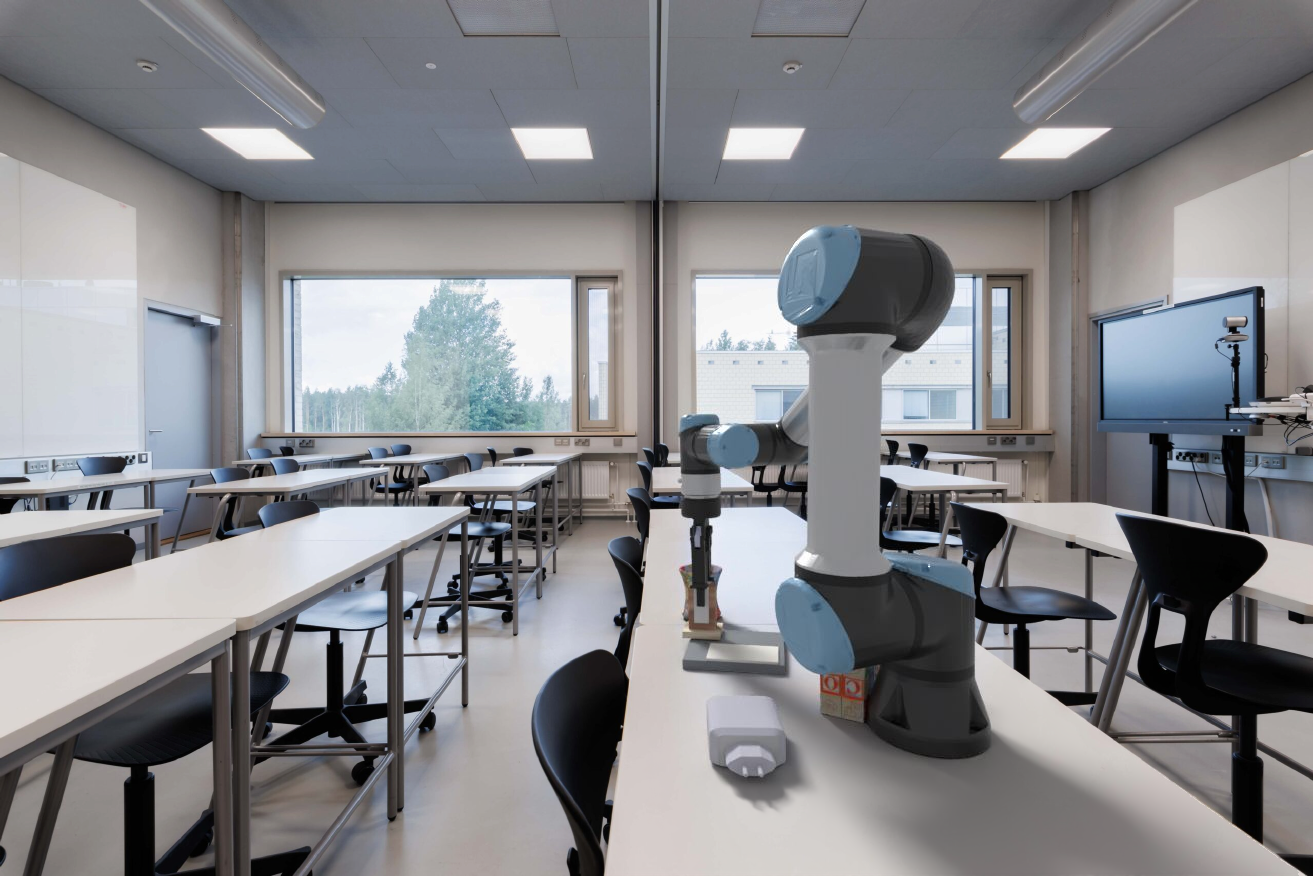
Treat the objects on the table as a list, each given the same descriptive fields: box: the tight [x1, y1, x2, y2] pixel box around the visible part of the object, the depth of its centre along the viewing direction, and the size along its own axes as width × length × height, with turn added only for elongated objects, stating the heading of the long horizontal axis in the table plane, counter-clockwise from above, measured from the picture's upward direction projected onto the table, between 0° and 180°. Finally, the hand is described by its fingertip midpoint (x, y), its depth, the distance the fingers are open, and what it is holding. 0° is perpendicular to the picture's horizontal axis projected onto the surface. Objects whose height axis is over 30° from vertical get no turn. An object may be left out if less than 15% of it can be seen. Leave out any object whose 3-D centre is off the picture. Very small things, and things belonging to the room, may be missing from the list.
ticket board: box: [681, 629, 786, 676], centre depth 109 cm, size 16×17×2 cm
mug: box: [678, 563, 723, 620], centre depth 132 cm, size 12×9×11 cm
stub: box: [681, 583, 724, 640], centre depth 115 cm, size 6×7×9 cm
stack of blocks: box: [819, 665, 880, 724], centre depth 94 cm, size 21×6×12 cm, turn 149°
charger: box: [706, 695, 787, 778], centre depth 75 cm, size 5×9×15 cm
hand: (702, 619), depth 115 cm, fingers closed on stub, 3 cm apart
